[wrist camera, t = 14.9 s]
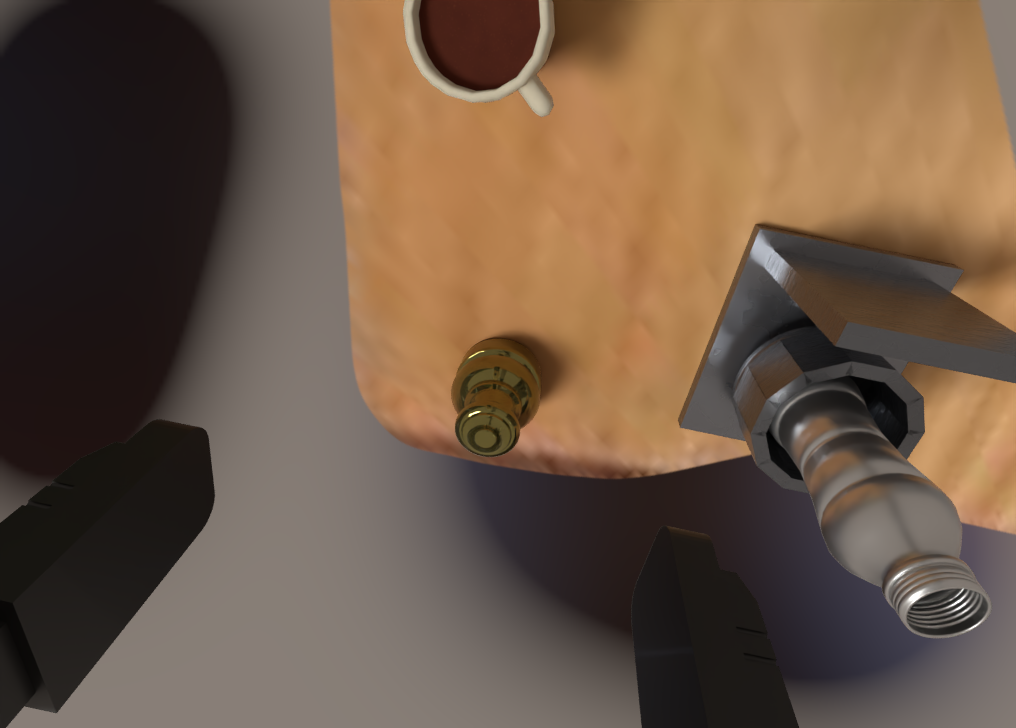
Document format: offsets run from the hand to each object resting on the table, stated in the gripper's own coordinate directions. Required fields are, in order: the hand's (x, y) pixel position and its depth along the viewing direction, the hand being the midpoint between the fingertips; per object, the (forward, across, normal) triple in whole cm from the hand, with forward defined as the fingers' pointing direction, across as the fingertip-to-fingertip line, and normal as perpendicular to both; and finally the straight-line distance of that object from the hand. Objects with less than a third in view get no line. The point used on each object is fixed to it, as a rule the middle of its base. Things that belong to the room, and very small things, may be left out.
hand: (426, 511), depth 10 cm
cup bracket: (+36, -24, +10) cm, 44 cm away
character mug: (+36, +4, -8) cm, 37 cm away
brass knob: (+36, 0, +18) cm, 41 cm away
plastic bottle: (+32, -23, +12) cm, 41 cm away
